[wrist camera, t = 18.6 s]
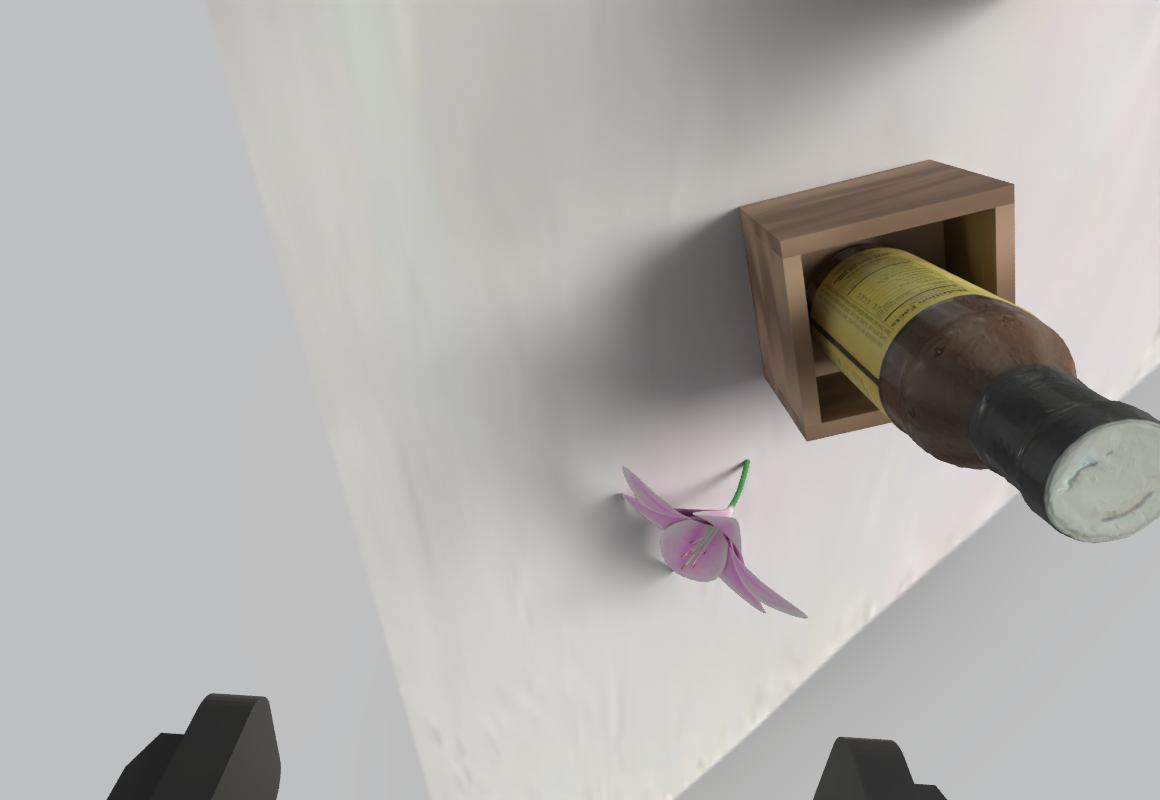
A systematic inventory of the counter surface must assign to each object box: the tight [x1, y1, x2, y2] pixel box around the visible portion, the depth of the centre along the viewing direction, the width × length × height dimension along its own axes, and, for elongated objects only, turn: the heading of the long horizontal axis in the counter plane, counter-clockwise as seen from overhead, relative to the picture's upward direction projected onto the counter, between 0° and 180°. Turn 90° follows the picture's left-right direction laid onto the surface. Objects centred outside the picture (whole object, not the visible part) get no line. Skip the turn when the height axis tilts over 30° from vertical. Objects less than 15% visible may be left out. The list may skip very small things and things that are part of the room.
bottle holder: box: [739, 160, 1015, 441], centre depth 39 cm, size 10×10×8 cm
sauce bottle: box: [806, 243, 1160, 543], centre depth 31 cm, size 6×6×20 cm
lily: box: [621, 460, 808, 618], centre depth 45 cm, size 12×12×10 cm
